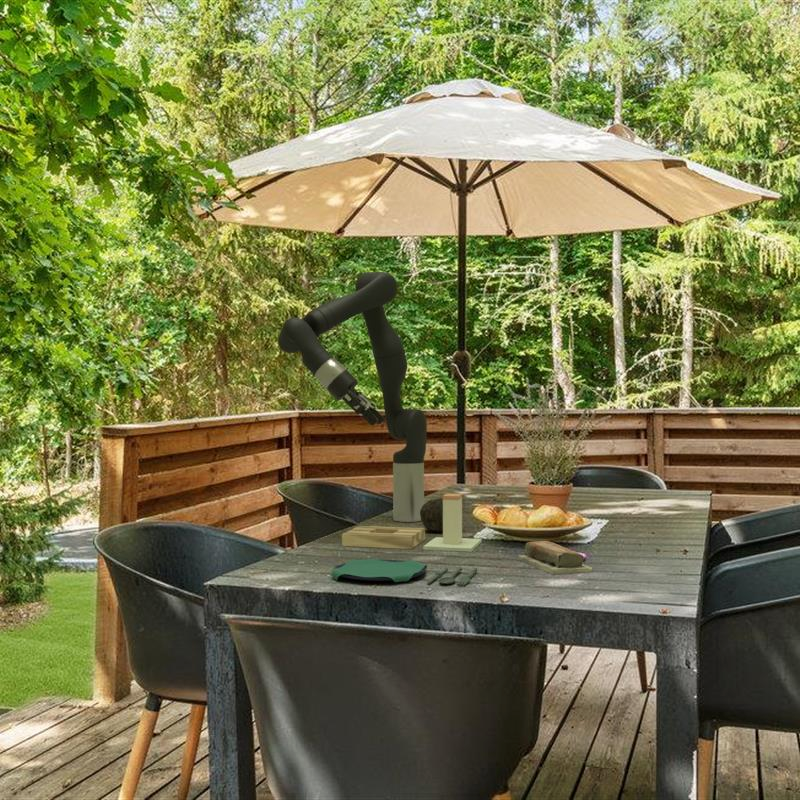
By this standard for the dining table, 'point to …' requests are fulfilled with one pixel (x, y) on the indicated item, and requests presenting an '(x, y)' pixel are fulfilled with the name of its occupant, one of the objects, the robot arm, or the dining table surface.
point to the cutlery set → (392, 571)
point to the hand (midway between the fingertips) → (378, 422)
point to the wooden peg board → (383, 537)
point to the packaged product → (553, 558)
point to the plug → (452, 519)
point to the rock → (433, 515)
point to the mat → (452, 545)
